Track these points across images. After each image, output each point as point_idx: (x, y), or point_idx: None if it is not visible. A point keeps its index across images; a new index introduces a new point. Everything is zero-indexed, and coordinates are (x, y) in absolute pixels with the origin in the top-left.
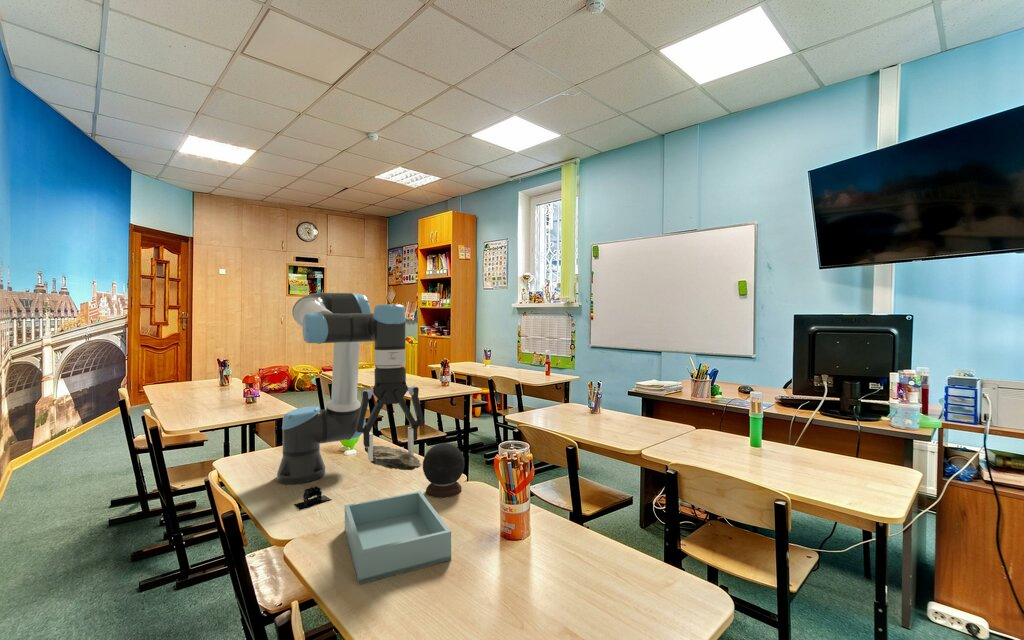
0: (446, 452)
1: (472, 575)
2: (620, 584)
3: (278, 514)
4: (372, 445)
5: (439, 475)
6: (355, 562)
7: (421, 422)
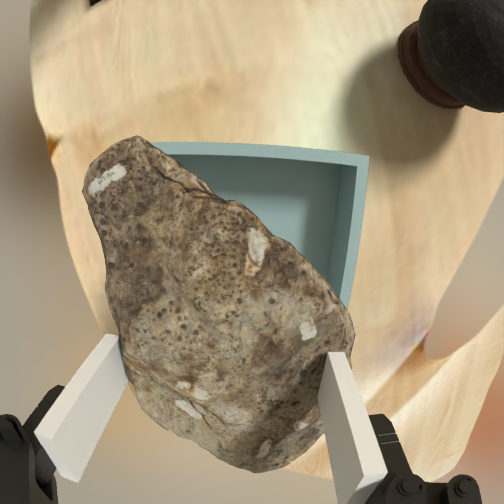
0: None
1: None
2: (426, 452)
3: (55, 18)
4: (99, 433)
5: (452, 91)
6: None
7: None
